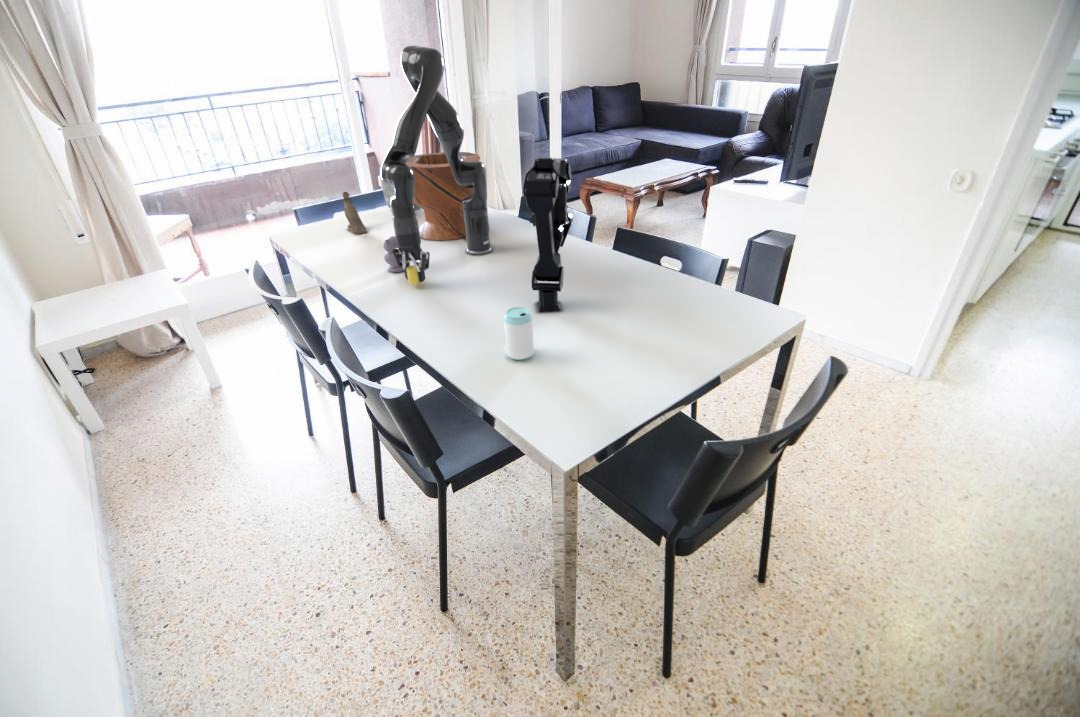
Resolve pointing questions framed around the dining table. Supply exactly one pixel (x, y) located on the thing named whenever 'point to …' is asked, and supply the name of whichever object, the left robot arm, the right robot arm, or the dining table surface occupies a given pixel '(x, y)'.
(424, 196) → the wooden planter
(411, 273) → the canister
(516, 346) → the can
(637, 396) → the dining table surface
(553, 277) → the right robot arm
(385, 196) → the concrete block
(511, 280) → the dining table surface
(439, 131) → the left robot arm
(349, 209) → the brown carved statuette
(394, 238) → the cat figurine
